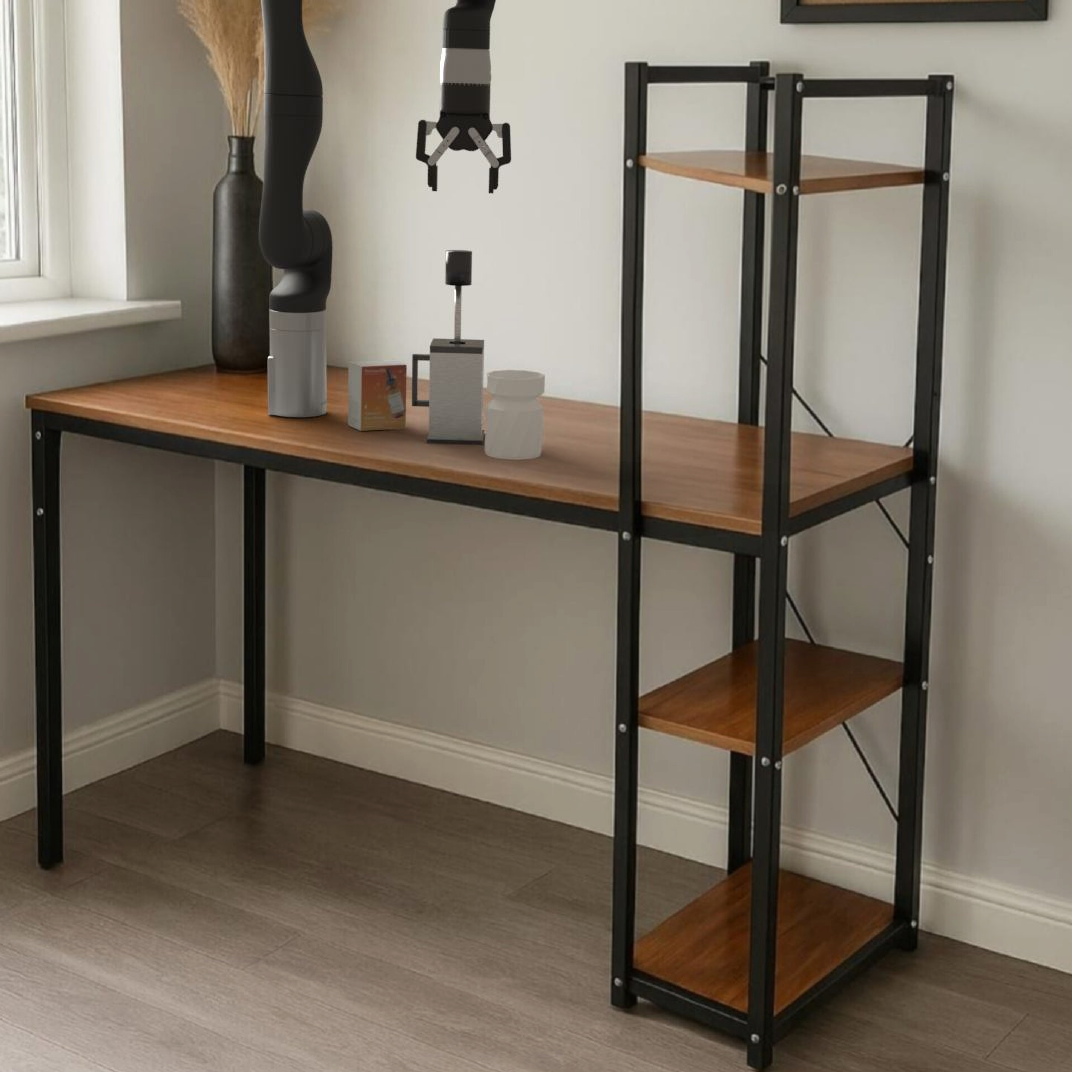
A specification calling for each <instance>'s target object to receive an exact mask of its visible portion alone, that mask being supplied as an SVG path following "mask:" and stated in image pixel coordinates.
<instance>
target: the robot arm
mask: <svg viewBox="0 0 1072 1072" xmlns="http://www.w3.org/2000/svg"><path fill="white" fill-rule="evenodd" d="M496 2H497V1H496V0H456V3H455V6H452V7H450V8H448V9H446V10H445V12H444V15H443V18H442V49H441V58H440V68H439V70H440V71H439V79H440V80H439V117H438V120H437V121H430V120H429V121H428V120H425V119H420V120H419V121H418V123H417V134H416V135H417V137H416V149H415V159H416V160H417V161H420V162H422V163H424V164H426V166H427V185H428V188H431V192H438V177H439V176H438V172H439V171H438V170H439V169H438V168H439V165H437V163H438V162H439V160H440V159H441V157H442V156H443V155H444V154H445V152H447V150H448V149H450V150H451V151H454V152H455V151H456V152H459V151H463V150H464V151H467V152H476V151H477V150H480V152H481V153H482V155H483V156H484V158H485V159H486V161H487V162H488V163H489V165H490V167H489V168H488V169H489V170H488V194H494V191H495V190H497V189H498V188H499V170H500V167H502V166H505V165H509V164H510V163H511V161H512V148H511V147H512V144H511V143H512V141H511V140H512V139H511V137H512V136H511V125H510V123H508V122H504V123H492V121H491V116H490V114H491V85H492V84H491V82H492V63H491V53H490V49H491V48H490V47H491V45H490V43H491V20H492V19H491V18H492V16H493V12H494V9H495V5H496ZM260 3H261V4H260V5H261V13H262V14H261V15H262V23H263V24H262V25H263V52H264V53H263V56H264V57H263V58H264V62H263V63H264V84H263V85H264V86H263V120H264V121H263V122H264V125H263V126H264V147H263V148H264V149H263V150H264V151H263V182H262V193H261V194H262V195H261V203H260V213H259V222H258V243H259V248H260V251H261V254H262V256H263V258H264V260H265V261H266V262H267V263H268V264H269V265H270V266H271V267H273V268H275V269H279V270H283V274H282V277H281V279H280V282H279V283H278V284H277V285H276V286H275V287H274V288H273V289H272V290H271V291H270V293H269V298H268V306H269V307H268V309H269V311H268V312H269V316H268V318H269V355H268V356H267V413H268V414H267V415H269V416H279V417H285V418H286V417H287V418H310V417H312V418H313V417H317V416H318V417H319V416H323V415H325V414H327V401H328V399H327V299H328V296H329V294H330V292H331V291H330V290H331V287H332V286H331V285H332V272H333V235H332V230H331V227H330V225H329V223H328V220H327V219H326V217H325V216H324V215H322V214H321V213H320V212H318V211H316V210H314V209H311V208H304V206H303V205H304V202H303V201H304V198H303V196H304V195H303V194H304V183H305V177H306V173H307V170H308V167H309V165H310V163H311V162H310V161H311V159H312V158H313V155H314V152H315V150H316V147H317V145H318V142H319V140H320V135H321V133H322V129H323V120H324V119H323V114H324V113H323V112H324V109H323V108H324V107H323V105H324V102H323V101H324V98H323V95H324V92H323V82H322V77H321V75H320V72H319V68H318V65H317V63H316V60H315V58H314V56H313V53H312V51H311V49H310V46H309V43H308V41H307V37H306V34H305V31H304V25H303V23H304V21H303V0H260ZM434 129H436V131H437V133H438V135H439V136H440V137H441V138H442V141H441V142H440V144H439V145H438V146H437V147H436V148H435V150H434V151H433V153H432V154H431V155H429V154H427V153H426V146H427V144H426V143H427V136H430V135H431V134H432V132H433V130H434ZM493 131H494V132H495V133H496V136H497V137H498V138H500V139H501V140H502V141H501V142H502V143H501V144H502V156H499V157H496V155H495V154H494V152H493V150H492V148H491V147H490V146H489V145H488V144H487V142H486V140H487V139H488V138H489V136H490V135H491V133H492V132H493Z"/></svg>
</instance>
